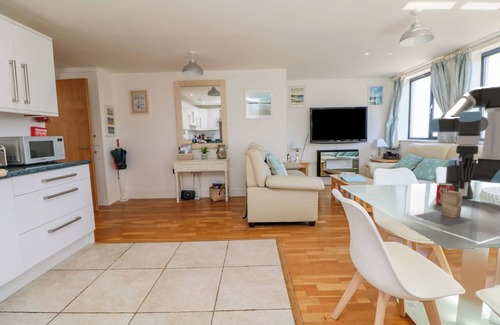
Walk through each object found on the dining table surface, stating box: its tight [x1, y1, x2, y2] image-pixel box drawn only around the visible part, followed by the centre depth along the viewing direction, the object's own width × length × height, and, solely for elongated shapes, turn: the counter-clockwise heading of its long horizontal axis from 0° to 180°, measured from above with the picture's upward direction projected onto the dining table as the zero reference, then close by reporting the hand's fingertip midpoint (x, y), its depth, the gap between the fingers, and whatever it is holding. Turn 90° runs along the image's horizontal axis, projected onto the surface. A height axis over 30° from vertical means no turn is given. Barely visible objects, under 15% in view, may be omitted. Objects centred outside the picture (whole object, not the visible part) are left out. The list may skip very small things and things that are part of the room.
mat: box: [413, 210, 473, 227], centre depth 108 cm, size 18×14×1 cm
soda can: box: [435, 182, 454, 207], centre depth 127 cm, size 7×7×12 cm
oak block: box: [441, 191, 463, 219], centre depth 110 cm, size 5×5×11 cm
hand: (462, 195), depth 112 cm, fingers closed
